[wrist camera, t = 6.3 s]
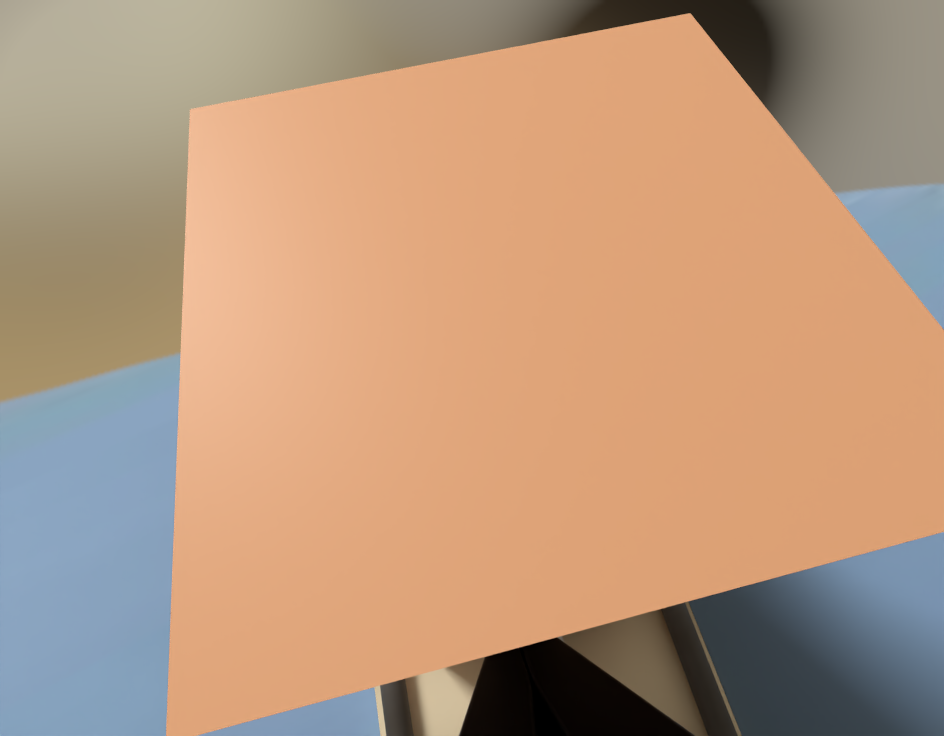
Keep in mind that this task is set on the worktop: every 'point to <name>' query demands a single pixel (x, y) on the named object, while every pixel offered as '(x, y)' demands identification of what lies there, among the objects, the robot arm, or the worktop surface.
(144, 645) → the worktop surface
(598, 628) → the board
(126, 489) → the worktop surface
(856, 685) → the worktop surface
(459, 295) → the orange rectangular block
